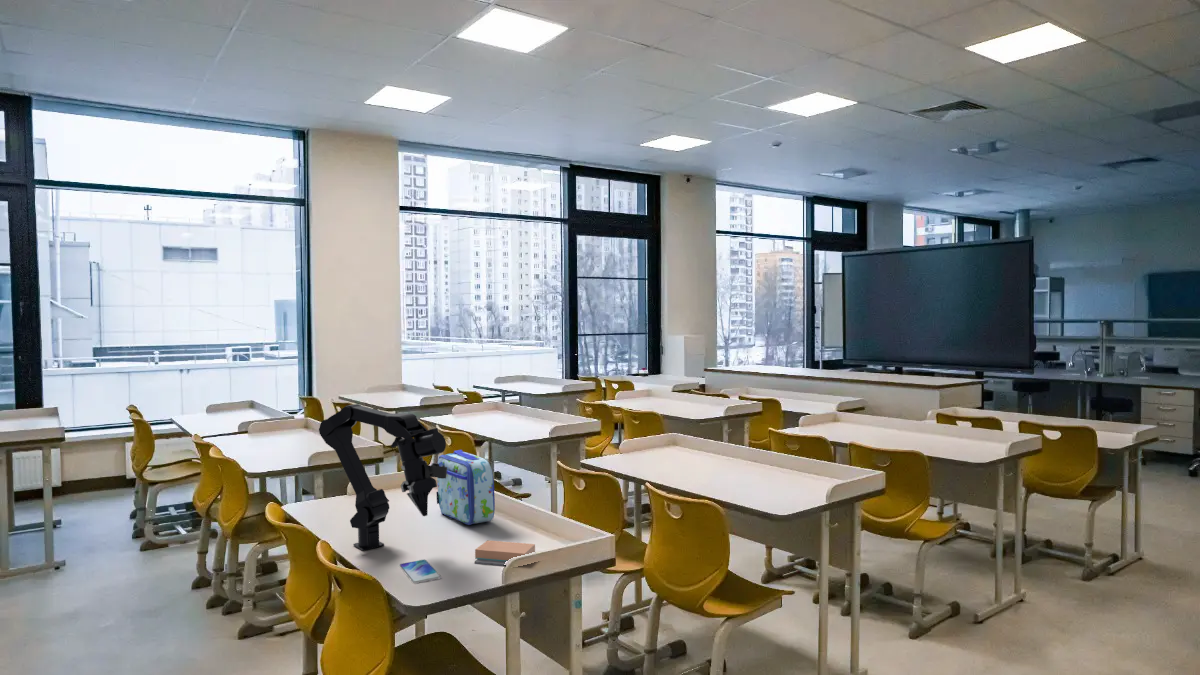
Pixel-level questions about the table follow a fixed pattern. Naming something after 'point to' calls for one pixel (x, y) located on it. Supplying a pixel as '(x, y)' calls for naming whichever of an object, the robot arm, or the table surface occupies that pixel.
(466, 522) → the lunch box
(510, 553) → the glazed tile
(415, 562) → the smartphone
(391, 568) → the table surface
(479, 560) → the rubber mat
